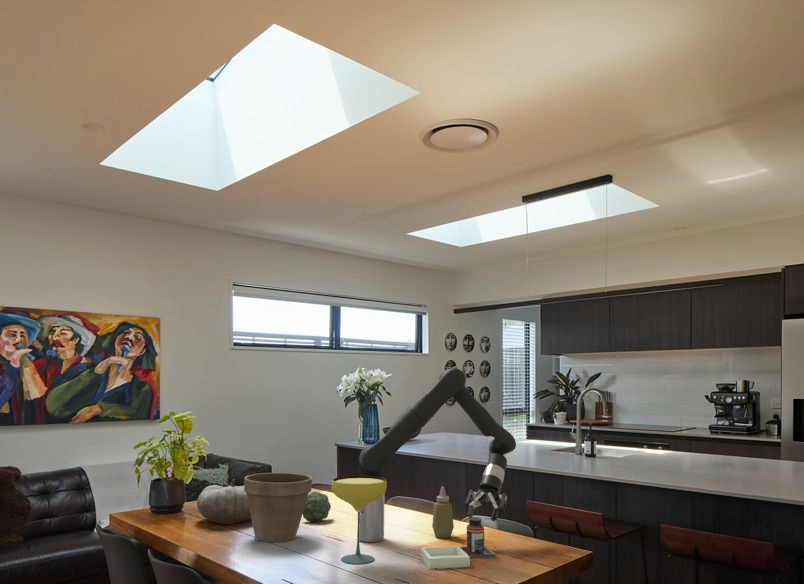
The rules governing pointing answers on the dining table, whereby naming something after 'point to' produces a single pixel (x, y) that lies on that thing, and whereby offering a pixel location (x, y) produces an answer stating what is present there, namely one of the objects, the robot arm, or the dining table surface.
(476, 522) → the supplement bottle
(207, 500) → the gourd
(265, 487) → the plant pot
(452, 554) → the dish
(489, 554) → the socket collar
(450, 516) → the squeeze bottle
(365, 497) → the cocktail glass
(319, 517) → the vegetable
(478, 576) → the dining table surface
